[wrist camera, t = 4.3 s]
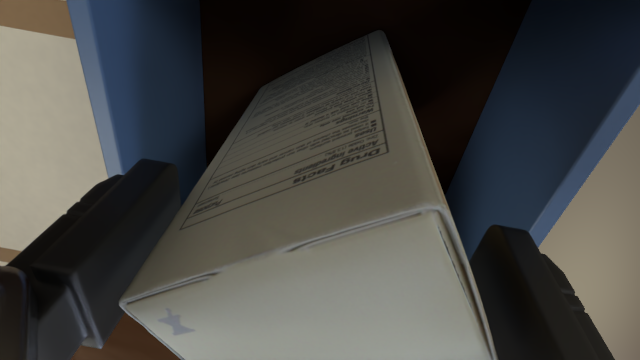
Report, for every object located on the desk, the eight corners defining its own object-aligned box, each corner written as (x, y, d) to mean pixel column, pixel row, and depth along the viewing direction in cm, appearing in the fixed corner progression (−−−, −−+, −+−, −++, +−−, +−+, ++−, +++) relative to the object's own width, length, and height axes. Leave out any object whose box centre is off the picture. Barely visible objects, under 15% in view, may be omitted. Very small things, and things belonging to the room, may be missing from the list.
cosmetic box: (301, 158, 19) (227, 416, 9) (258, 84, 17) (95, 308, 6) (421, 112, 17) (512, 381, 6) (389, 21, 14) (447, 207, 4)
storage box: (197, 184, 20) (131, 281, 15) (179, -109, 13) (28, -149, 7) (440, 228, 20) (471, 343, 15) (565, -39, 13) (730, -21, 7)
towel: (-21, 264, 27) (-29, 270, 26) (-239, -104, 14) (-260, -105, 14) (173, 299, 27) (170, 306, 26) (126, -37, 14) (117, -36, 14)
